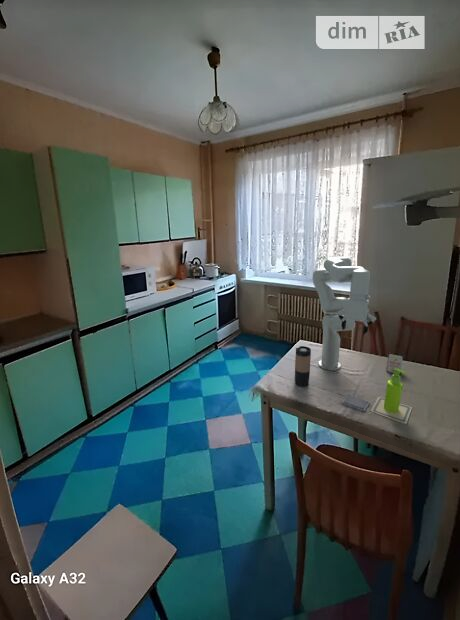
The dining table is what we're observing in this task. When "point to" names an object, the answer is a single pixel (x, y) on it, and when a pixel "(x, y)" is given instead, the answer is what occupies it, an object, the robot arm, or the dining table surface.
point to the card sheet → (398, 416)
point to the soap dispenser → (394, 392)
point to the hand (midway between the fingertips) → (354, 330)
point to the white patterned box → (393, 363)
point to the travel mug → (302, 366)
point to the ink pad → (356, 403)
